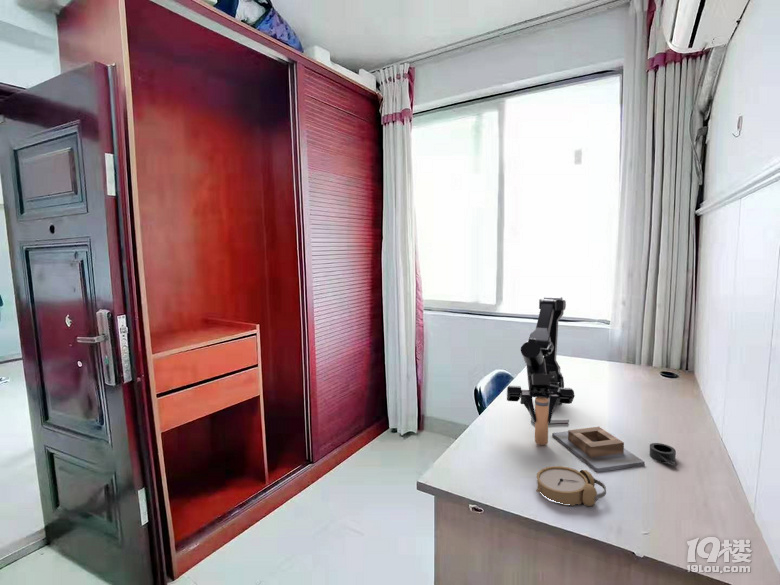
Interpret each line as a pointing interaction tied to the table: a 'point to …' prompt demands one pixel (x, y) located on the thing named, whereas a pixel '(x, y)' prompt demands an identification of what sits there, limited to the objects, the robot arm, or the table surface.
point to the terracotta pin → (541, 420)
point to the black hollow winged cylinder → (662, 453)
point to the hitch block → (598, 449)
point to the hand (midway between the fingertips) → (542, 422)
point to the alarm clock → (568, 485)
